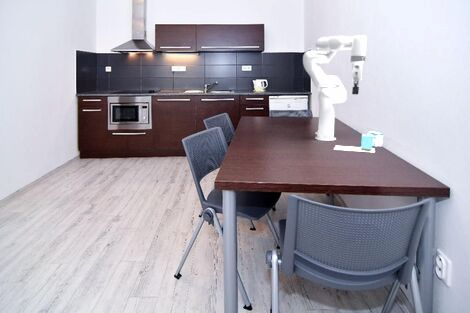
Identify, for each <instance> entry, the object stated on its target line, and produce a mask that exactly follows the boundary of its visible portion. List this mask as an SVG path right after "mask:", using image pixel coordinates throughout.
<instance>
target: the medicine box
mask: <svg viewBox="0 0 470 313" xmlns="http://www.w3.org/2000/svg"><path fill="white" fill-rule="evenodd" d="M366 135H373V144H372V147H376V148H377V147H383V142H384V140H383V139H384V133H382V132H377V131H367V134H366Z"/></svg>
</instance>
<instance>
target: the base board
mask: <svg viewBox="0 0 470 313" xmlns="http://www.w3.org/2000/svg"><path fill="white" fill-rule="evenodd" d="M333 150H334V151H335V150H336V151H347V152H363V153H364V152H365V153H375V152H376V150H375V148H374V147H372V149H369V150H364V149H361V146H349V145H348V146H347V145H335V147H334V148H333Z"/></svg>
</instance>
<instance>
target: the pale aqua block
mask: <svg viewBox="0 0 470 313" xmlns="http://www.w3.org/2000/svg"><path fill="white" fill-rule="evenodd" d="M360 143H361V144H360V147H361V149H372V148H373V146H372V144H373V135H367V134H361V141H360Z"/></svg>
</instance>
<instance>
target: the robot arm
mask: <svg viewBox="0 0 470 313" xmlns="http://www.w3.org/2000/svg"><path fill="white" fill-rule="evenodd" d="M367 41H368V38H367V36H366V35H363V34H362V35H361V34H360V35H353V36H349V35H346V36H345V35H335V36H334V35H333V36H322V37H320V38H318V39H317V40H316V42H315V47H316V49H317V50H313V49H312V50H311V49H310V50H308V51H305V52H304V54H303V56H302V65H303V68H304V70H305V71H306V72H307V74H308V75H309V78H310V79H311V81H312V82H313V85H314V86H315V89H317V90H318V96H317V97H318V102H319V103H318V104H319V105H318V107H319V108H318V110H319V111H318V130H317V131H315V134H316V136H314V139H315V140H317V141H324V142H325V141H327V142H328V141H329V142H330V141H336V140H337V138H336V136H334V135H335V122H336V121H335V119H336V110H335V107H334V105H333V104H342V103H344V102H346V101H347V97H348V94H347V90H346V88H345V87H344V84H343V83H342V81H341V80H340V78H339V77H338V76H337V75H335V74H333V75H332V74H331V75H330V74H329V75H328V74H326V73H325V72H324V70H323V69H322V67H320V65H327V64H329V63H330V62H331V60H332V59H333V58H334V57H335V56H336V54H337V52H338V51H344V52H345V51H349V52H350V63H352V66H351V81H352V82H353V83H352V89H351V90H352V93H351V94H352V95H359V89H360V87H359V84H360V82H361V81H362V79H363V70H364V68H363V67H364V66H363V65H364V63H365V62H366V53H367V43H368V42H367Z"/></svg>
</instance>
